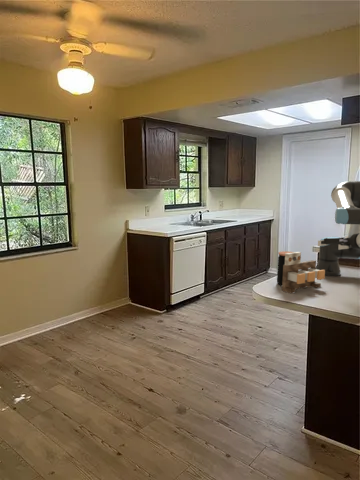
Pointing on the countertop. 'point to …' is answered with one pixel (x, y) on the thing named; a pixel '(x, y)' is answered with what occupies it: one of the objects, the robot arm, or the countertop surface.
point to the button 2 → (318, 273)
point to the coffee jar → (281, 266)
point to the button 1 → (296, 277)
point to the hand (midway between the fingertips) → (328, 245)
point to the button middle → (308, 275)
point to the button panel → (294, 265)
